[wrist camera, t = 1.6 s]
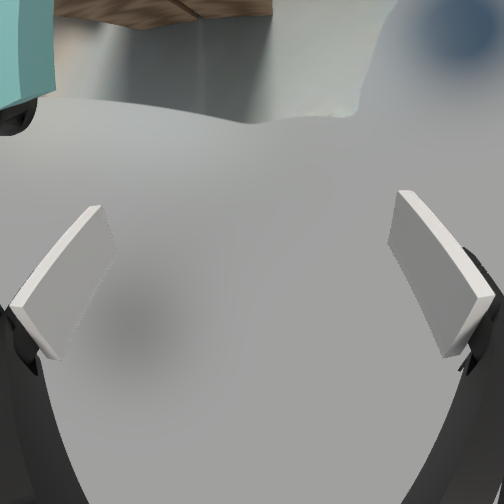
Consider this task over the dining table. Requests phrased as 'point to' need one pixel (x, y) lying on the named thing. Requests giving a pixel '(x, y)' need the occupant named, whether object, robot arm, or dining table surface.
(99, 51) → the dining table surface
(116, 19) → the brown boxy piece
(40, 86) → the bar
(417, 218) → the robot arm
